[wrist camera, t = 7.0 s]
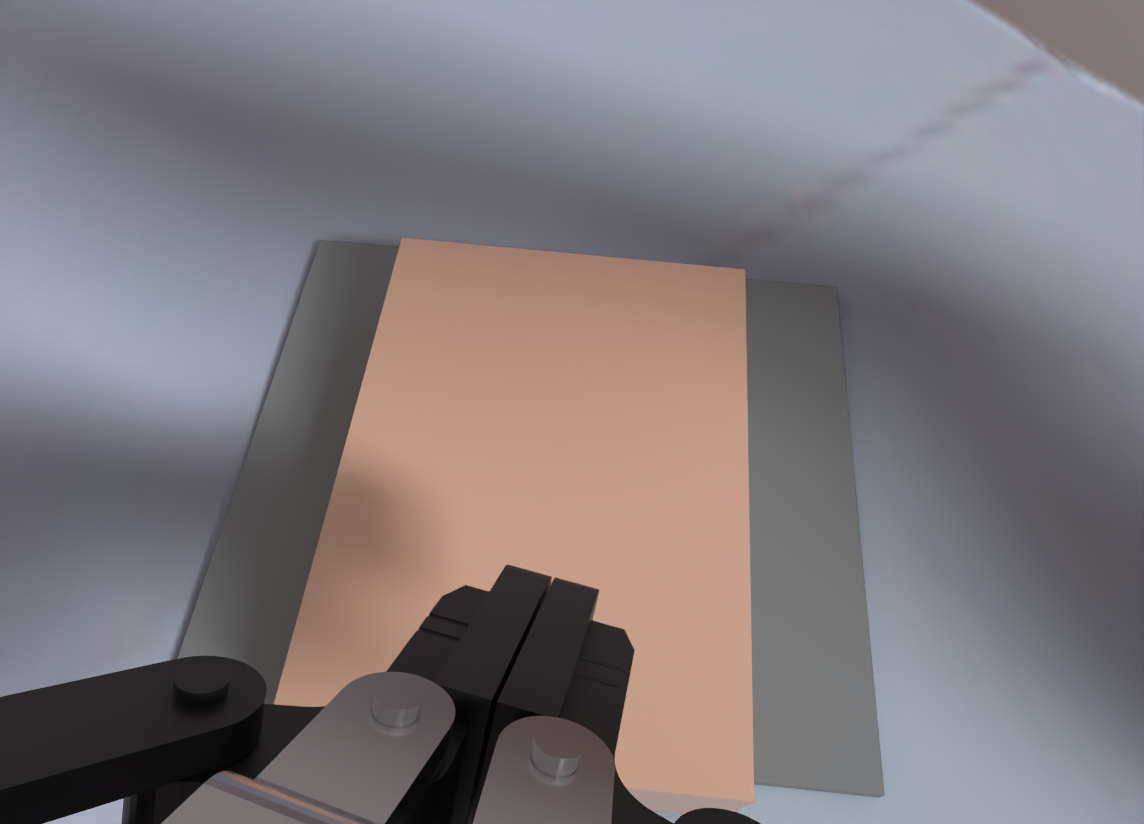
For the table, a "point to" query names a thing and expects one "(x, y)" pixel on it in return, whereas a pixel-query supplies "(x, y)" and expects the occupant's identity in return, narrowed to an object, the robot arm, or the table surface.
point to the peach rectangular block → (555, 487)
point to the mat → (776, 514)
